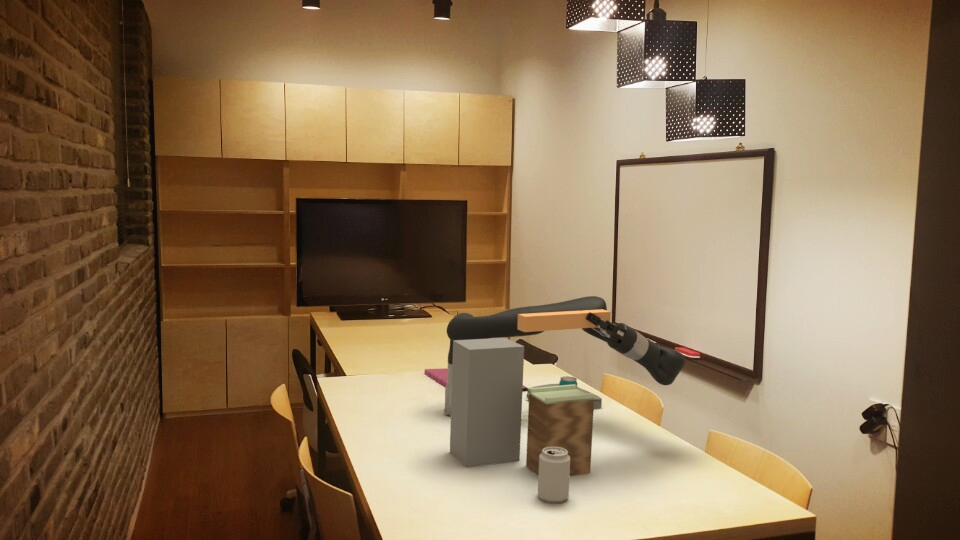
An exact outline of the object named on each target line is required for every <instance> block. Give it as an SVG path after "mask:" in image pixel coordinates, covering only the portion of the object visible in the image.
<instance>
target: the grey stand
mask: <svg viewBox="0 0 960 540" xmlns="http://www.w3.org/2000/svg"><path fill="white" fill-rule="evenodd" d="M524 361H525V346H524V345H522V344H520V343H517V342H515V341H513V340H511V339H509V338H508V337H504V338H489V339H472V340H453V362H452V395H451V416H450V427H449V428H450V432H449V434H450V435H449V440H450V441H449V453H450V454H451V455H452V456H453V457H454V458H455V459H456V460H458V462H459V463H460V464H461V465H463V467H465V468H472V467H479V466H480V467H481V466H486V465H496V464H503V463H509V462H510V463H511V461H512V462H519V460H521V459H520V458H521V456H520V455H521V439H522V438H521V434H522V431H521V429H522V415H523V414H522V411H523V410H522V407H523V391H522V390H523V386H524Z"/></svg>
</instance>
